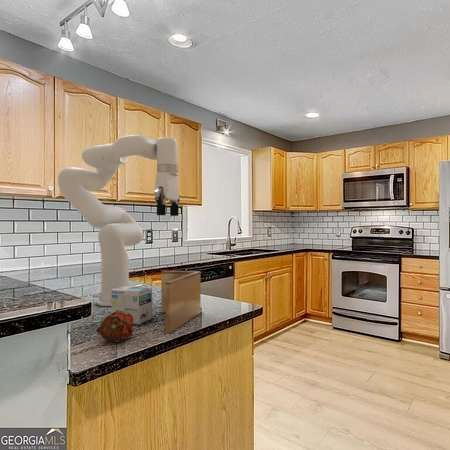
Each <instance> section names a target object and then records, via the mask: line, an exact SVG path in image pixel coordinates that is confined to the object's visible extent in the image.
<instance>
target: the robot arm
mask: <svg viewBox="0 0 450 450" xmlns="http://www.w3.org/2000/svg"><path fill="white" fill-rule="evenodd" d="M132 156H139V157H143V158H146V159H149V160H153V161H156V175H155V181H154V191H153V195H154V200H155V204H156V216H166V215H167V206H166V205H167V204H166V202H167V201H169V203H170V206H169V215H170V217H178V216H179V206H180V200H181V199H180V198H181V195H180V192H179V191H180V190H179V178H178V176H179V143H178V140H177V139H176V138H173V137H171V136H161V137H160V136H159V137H158V138H157V140H156V139H154V138H151V137H148V136H145V135H143V134H142V135H141V134H129V135H123V136H120V137H118V138H116V139H115V140H114V142H111V143H105V144H99V145H92V146H89V147H87V148H85V149H84V150H83V151H82V153H81V159H82V161H83V162H84V163H85V164H86V165H87V166H89V167H92V168H95V169H94V170H93V169H88V168H82V167H74V166H73V167H71V166H70V167H65V168H63V169H62V170H61V171H60V172H59V173H58V177H57V184H58V189H59V191H60V193H61V195H62V196H63V197H64V198H65V199H66V200H67V201H68V203H70V204H71V206H73V207H74V209H76V211H77V212H78V213H79V214H80V215H81V216H82V218H83V219H84V220H85V221H86V222H87V223H88V224H89V226H91V227H92V228H95V229H99V230H98V234H97V239H98V244H99V248H100V261H101V262H100V263H101V266H100V267H101V268H100V269H101V273H100V274H101V276H100V277H101V279H100V281H101V283H100V285H101V291H95V292H94V293H93V298H98V300H97V301H96V305H97V306H101V307H111V289H115V288H120V287H124V286H130V264H129V263H130V259H129V257H130V256H129V253H128V251H127V250H126V247H133V246H136V245H139V244H140V243H141V242H142V240H143V238H144V232H143V230H142V227H141V226H140V225H139V224H138V222H137V221H136V220H135V219H134V218H133V217H132V216H131V214H129V213H128V212H127V210H125V209H124V208H123V207H120V206H116V205H106V204H104V203H102V202H101V200H99V199H98V197H97V196H96V195H94V194H93V193H92V192H91V191H101V190H103V189H104V188H105V187H106V186H107V185H108V184H109V183H110V181H111V180H112V178H113V177H114V176H115V174H116V173H117V172H118V170H119V169H120V166H121V165H123V164H125V163H127V161H128V159H129V157H132Z"/></svg>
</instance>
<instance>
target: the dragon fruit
mask: <svg viewBox="0 0 450 450" xmlns="http://www.w3.org/2000/svg"><path fill="white" fill-rule="evenodd" d="M133 319H134V318H133V316H132V315H131V314H129V313H127V314H125V312H124V311H119V310H118V311H115V312H114V313H112V314H111V313H110V314H107V316H105V317H104V318H103V319H102V321H101V323H99V326H98V327H96V328H95V332H96V333H97V334H99V335H100V337H101V338H102V339H103V340H105V341H107V342H110V341H111V342H114V343H121V342H122V341H123V340H124V339H126V338H130V337H131V336H132V335H133V333H134V330H135V327H134V326H135V324H133Z"/></svg>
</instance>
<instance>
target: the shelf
mask: <svg viewBox="0 0 450 450" xmlns="http://www.w3.org/2000/svg"><path fill="white" fill-rule="evenodd" d="M201 274H202V272H201V271H197V270H194V271H193V270H191V271H190V270H162V271H160V275H161V276H160V277H161V283H160V286H161V288H160V289H161V292H160V293H161V295H160V296H161V299H160V302H161V307H160V308H161V309H160V311H161V313H165V333H168V334H170V333H171V332H173V331H175V330H176V329H178V328H180V327H181V326H183V325H184V324H186V323H188V322H189V321H191V320H192V319H194V318H195V317H197V316H198V315H200V314H201V313H202V312H201V306H202V305H201V302H202V301H201V299H202V298H201Z"/></svg>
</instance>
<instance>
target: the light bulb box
mask: <svg viewBox="0 0 450 450" xmlns="http://www.w3.org/2000/svg"><path fill="white" fill-rule="evenodd" d="M118 310H119V311H124V312H125V314H127V313H129V314H131V315H132V316H133V318H134V319H133V325H141V324H143V323H145V322H148V321H150V320H153V317H154V316H153V312H154V311H153V287H152V286H131V285H129V286H124V287H120V288H115V289H111V306H110V314H112V313H114V312H115V311H118Z"/></svg>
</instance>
